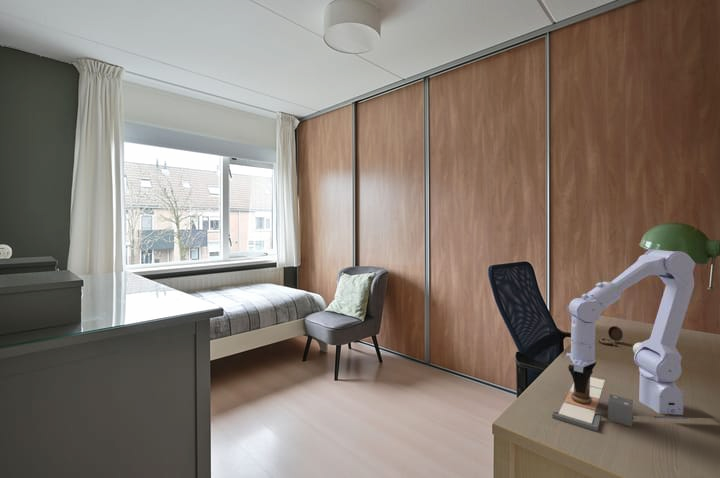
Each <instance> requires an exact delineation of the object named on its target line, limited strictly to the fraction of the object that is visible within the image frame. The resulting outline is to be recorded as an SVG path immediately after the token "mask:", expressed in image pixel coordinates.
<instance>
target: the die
mask: <svg viewBox="0 0 720 478" xmlns="http://www.w3.org/2000/svg"><path fill="white" fill-rule="evenodd" d="M607 403H608V405H607V421H611V422H614V423H616V424H617V423H618V424H621V425H625V426H627V427H631V428H632V427H633V418H634V399H632V398H628V397H623V396H619V395H616V394H615V395H614V394H609V396H608V401H607Z"/></svg>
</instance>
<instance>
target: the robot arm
mask: <svg viewBox="0 0 720 478" xmlns="http://www.w3.org/2000/svg"><path fill="white" fill-rule="evenodd" d="M695 266H696V262H695V261H694V259H692V257H691V256H690V255H689V254H688V253H687V252H684V251H677V250H676V251H672V250H662V249H657V248H654V249H653V248H652V249H649V250H647V251H646V252H645V253H644V254H642V255H639V257H638V259H637V260H636V261H635V262H634V263H633V264H631V266H629V267H627V268H626V269H625V270H624V271H623V272H622V273H620V274H619V275H618V276H617V277H616V278H614V279H613V280H612V281H603V282H599V281H598V283H596V284H595V287H594V288H593V289H591V290H590V291H588V292H587V293H583V294H582V295H581V297H576V298H573V299H572V300H571V301H570V303H569V304H568V306H567V307H566V309H567V312H568V314H569V315H570V318H571V323H570V326H571V330H570V352H566V354H565V357H566V358H569V359H570V360H571V362H572V363H573V365H572V364H569V365H568V366H567V367H568V371H569V373H570V374H571V377H572V380H573V383H574V386H575V390H576V392H579V393H583V394H585V392H586V388H587V383H588V379H589V378H590V377H592V374H593V373H594V370H593V369H594V368H595V366H596V365H597V360H596V359H597V358H595V357H596V356H595V355H596V321H598V320H599V319H600V317H601V314H602V312H603V311H604V310H605V309H607V308H608V307H610V306H612V305H613V304H614V303H616V302H617V301H619V300H620V299H621V298H622V292H623V291H625V290H626V289H628V288H629V287H632V286H634V285H635V284H636V283H638V282H640V281H641V280H643V279H645V278H647V277H648V276H657V277H659V278H660V280H661V281H662V282H663V284H664V285H665V287H664V290H663V294H662V297H661V301H660V304H659V308H658V311H657V313H656V318H655V321H654V324H653V327H652V331H651V335H650V337H649V339H646V340H644V341H642V344H641V347H640V348H639V349H638V350H637V351H636V353H634V355H633V360H634V363H635V364H636V366H637V367H638V371H639V385H638V387H639V392H638V393H639V394H638V395H639V397H638V401H639V402H640V403H641V404H642V405H644V406H646V407H648V408H650V409H652V410H653V411H655V412H656V413H657V414H659V415H653V417H654V418H657V419H658V418H660V419H684V420H685V419H687V417H686V416H680V415H684V398H685V397H684V393H683V391H682V389H680V388H679V387H678V386H677V385H676V381H677V380H678V379H679V378H680V376H681V374H682V365H681V364H682V363H681V362H682V359H683V357H682V355H681V354H680V352H679V350H678V349H677V347H676V346H677V342H678V339H679V336H680V333H681V331H682V327H683V323H684V320H685V317H686V313H687V311H688V307H689V304H690V300H691V298H692V295H693V292H694V287H695V278H694V270H695ZM661 415H665V416H661ZM666 415H667V416H666ZM668 415H679V416H668Z"/></svg>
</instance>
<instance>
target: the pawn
mask: <svg viewBox="0 0 720 478" xmlns="http://www.w3.org/2000/svg"><path fill="white" fill-rule="evenodd" d="M590 387H591V386H590V378H589V379H588V383H587V388H586V392H585V394H583V393H579V392H576V390H575V386H574V392H572V399H573V400H574V401H576V402H579V403H583V404H591V402H592V398H593V397H590Z"/></svg>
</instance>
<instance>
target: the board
mask: <svg viewBox="0 0 720 478" xmlns="http://www.w3.org/2000/svg"><path fill="white" fill-rule="evenodd" d="M605 382H606V380H605V379H600V378H598V377H597V378H596V377H592V376H590V397H591V398H592V402H591V404H583V403H579V402H576V401H574V400H573V399H572V393H574V382H573V384H572V386H571V387H570V390H569V391H568V393H567V396H566V398H565V399H564V402H563V403H562V405H561V407H560V410H559V412H556V411H555V412H552V414H551V415H552V417H551V418H552V419H555V420H559V421H562V422H565V423H568V424H571V425H574V426H578V427H581V428H584V429H588V430H591V431H594V432H598V431H599V426H600V424H601V420H602V416H603V414H602V413H596V410H597V408H598V405H599V401H600V400H599V399H600V398H601V393H602V392H603V388H604V384H605Z"/></svg>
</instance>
